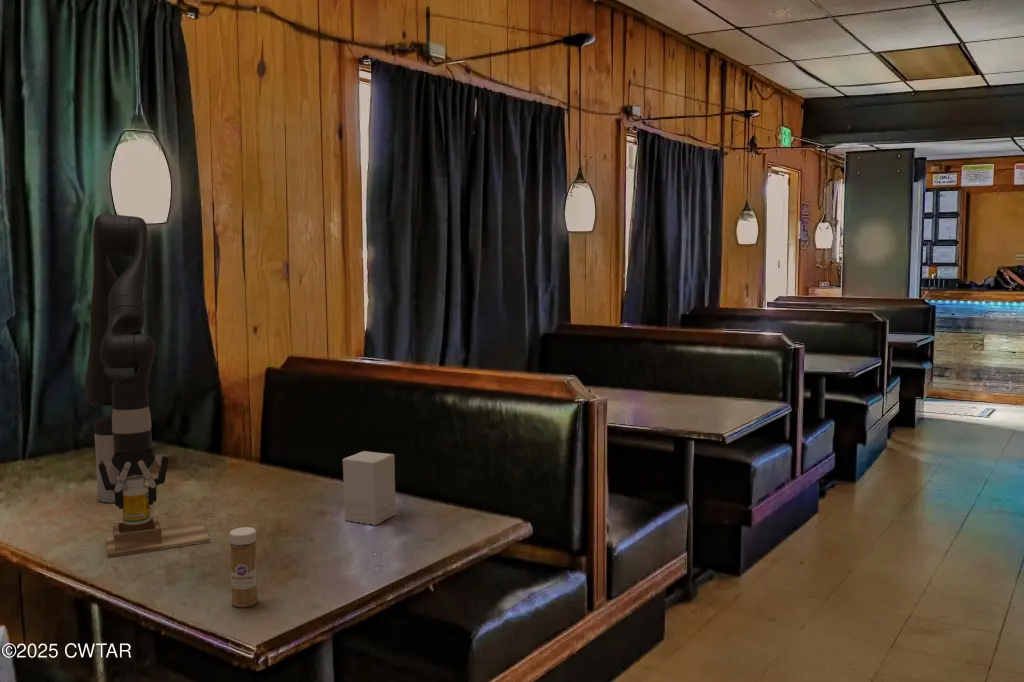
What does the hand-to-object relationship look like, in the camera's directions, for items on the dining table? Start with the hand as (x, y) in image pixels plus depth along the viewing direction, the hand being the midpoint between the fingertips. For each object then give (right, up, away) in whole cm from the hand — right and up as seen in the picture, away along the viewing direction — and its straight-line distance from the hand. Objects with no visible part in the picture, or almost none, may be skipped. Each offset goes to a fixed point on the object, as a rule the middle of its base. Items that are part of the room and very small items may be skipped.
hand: (136, 505), depth 182 cm
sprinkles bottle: (+33, -12, -29) cm, 45 cm away
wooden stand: (+4, -8, +3) cm, 9 cm away
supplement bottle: (0, -4, 0) cm, 4 cm away
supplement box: (+47, -7, +19) cm, 51 cm away
